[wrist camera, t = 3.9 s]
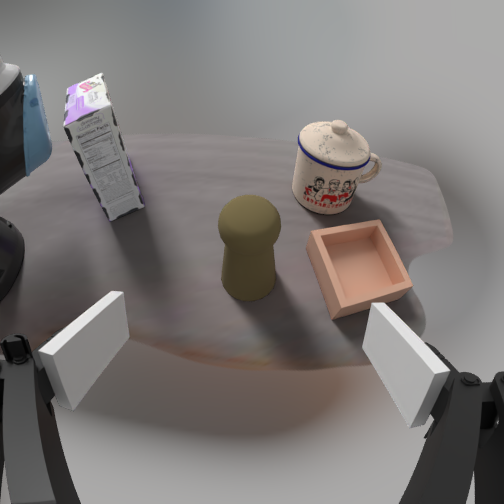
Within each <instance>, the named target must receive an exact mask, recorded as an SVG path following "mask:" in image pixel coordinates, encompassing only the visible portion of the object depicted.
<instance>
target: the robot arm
mask: <svg viewBox="0 0 504 504" xmlns="http://www.w3.org/2000/svg"><path fill="white" fill-rule="evenodd" d="M51 152H52V142H51V137H50V132H49V128H48V123H47V119H46V115H45V110H44V106H43V101H42V97H41V93H40V89H39V84H38V82H37V77H36V75H34V74H32V75H27V76H25V78H23V77H22V74H21V72H20V69H19V67H18V66H17V65H12V64H5V63H4V62H3V61H2V58H1V55H0V195H1V194H2V193H3V192H5V191H6V190H7V189H9V188H10V187H11V186H12V185H14V184H15V183H17V182H18V181H19V180H21V179H22V178H23V177H25V176H27V177H28V176H29V175H30V173H31V172H32V171H33V170H35V169H36V168H38V167H39V166H40V165H42V164H43V163H45V162H46V161H47V160H48V158H49V157H50V155H51ZM23 254H24V240H23V237H22V234H21V233H20V232H19V230H18V229H17V228H16V227H15V226H14V225H13V224H12V223H11V222H9V221H7V220H6V219H4V218H2V217H0V300H1V299H2V298H3V297H4V296H5V295H6V293H7V292H8V291H9V289H10V288H11V286H12V284H13V282H14V281H15V279H16V276H17V274H18V272H19V269H20V266H21V263H22V259H23ZM129 337H130V335H129V329H128V322H127V315H126V308H125V299H124V292H118V291H111V292H110V293H108V294H107V295H106V296H104V297H103V298H102V299H101V300H99V301H98V302H97V303H95V304H94V305H93V306H92V307H90V308H89V309H88V310H87V311H85V312H84V313H83V314H82V315H80V316H79V317H78V318H77V319H75V320H74V321H73V322H72V323H71V324H69V325H68V326H67V327H65V328H62V329H60V330H58V331H57V332H55V333H54V334H53V335H52V336H51V337H49V338H48V339H47V340H46V341H44V342H43V343H42V344H41V345H40V346H38V347H37V348H36V349H35V350H34V351H33V352H31V348H30V345H29V342H28V339H27V336H26V335H24V334H20V333H17V334H11V335H8V336H6V337H5V338H3V339H2V340H1V342H0V345H1V348H2V351H3V353H4V356H5V359H6V360H0V497H1V484H2V475H3V468H4V461H5V468H6V476H7V482H8V489H9V494H10V500H11V504H81V503H80V500H79V498H78V495H77V492H76V490H75V487H74V484H73V481H72V479H71V475H70V473H69V469H68V466H67V463H66V459H65V456H64V452H63V449H62V445H61V441H60V437H59V433H58V428H57V424H56V419H55V414H54V409H53V405H52V403H51V399H52V398H53V397H54V396H55V397H56V399H57V402H58V404H59V406H61V407H64V408H66V409H69V410H72V411H74V410H75V408H76V407H77V406H78V404H79V403H80V401H81V400H82V399H83V397H84V396H85V395H86V393H87V392H88V391H89V389H90V388H91V387H92V385H93V384H94V383H95V381H96V380H97V379H98V377H99V376H100V375H101V373H102V372H103V371H104V369H105V368H106V367H107V366H108V364H109V363H110V362H111V360H112V359H113V358H114V356H115V355H116V354H117V353H118V351H119V350H120V349H121V347H122V346H123V345H124V343H125V342H126V341H127V340H128V339H129ZM362 348H363V350H364V351H365V353H366V355H367V356H368V358H369V360H370V361H371V363H372V365H373V366H374V368H375V370H376V371H377V373H378V374H379V376H380V378H381V380H382V381H383V383H384V385H385V386H386V388H387V390H388V392H389V393H390V395H391V397H392V399H393V400H394V402H395V404H396V405H397V407H398V409H399V411H400V412H401V414H402V416H403V418H404V419H405V421H406V423H407V425H408V427H409V428H413V427H417V426H421V425H424V424H425V423H426V421H427V419H428V417H429V415H430V414H431V415H432V417H433V418H434V421H433V423H432V425H431V426H430V428H429V430H428V432H427V433H426V435H425V437H424V438H427V439H426V442H425V444H424V447H423V450H422V453H421V455H420V458H419V461H418V463H417V465H416V468H415V470H414V473H413V475H412V477H411V480H410V482H409V484H408V486H407V488H406V490H405V492H404V495H403V496H402V498H401V501H400V502H399V504H466V500H467V497H468V493H469V489H470V485H471V480H472V476H473V471H474V479H475V504H504V372H498V373H497V374H496V375H495V377H494V379H493V381H492V382H488V383H487V382H486V383H482V382H481V380H480V378H479V377H477V376H476V375H474V374H472V373H468V372H461V373H459V372H458V371H457V370H456V369H455V368H454V367H453V366H452V364H451V363H450V362H448V360H447V359H445V357H444V356H443V355H442V354H440V352H439V351H438V350H437V349H436V348H435V347H433V346H432V345H430V344H428V343H424V342H423V341H422V340H421V339H420V338H419V337H418V336H417V335H416V334H415V333H414V332H413V331H412V330H411V329H410V328H409V327H408V326H407V325H406V324H405V323H404V322H403V321H402V320H401V319H400V318H399V317H398V316H397V315H396V314H395V313H394V312H393V311H392V310H391V309H390V308H389V307H388V306H387V305H386V304H385V303H371V308H370V313H369V318H368V323H367V328H366V332H365V337H364V341H363V346H362ZM498 420H499V422H498V424H497V421H498Z"/></svg>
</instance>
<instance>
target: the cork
mask: <svg viewBox="0 0 504 504" xmlns="http://www.w3.org/2000/svg"><path fill="white" fill-rule="evenodd" d="M218 229H219V233H220V236H221V239H222V240H223V242H224V243H225V249H224V258H223V266H222V277H221V280H222V283H223V287H224V288H225V290H226V291H227V292H228V294H230V295H231V296H233V297H234V298H236V299H239V300H242V301H255V300H259V299H262V298H263V297H265V296H266V295H268V294H269V293H270V291H271V290H272V289H273V287H274V284H275V281H276V273H275V260H274V249H273V244H274V243H275V242H276V241H277V239H278V236H279V233H280V230H281V220H280V215H279V213H278V211H277V209H276V208H275V207H274V206H273V205H272V204H271V203H270V202H269V201H268V200H266V199H265V198H263V197H260V196H256V195H243V196H239V197H236V198H234V199H232V200H231V201H230V202H229V203H228V204H227V205H225V206H224V207H223V209H222V211H221V213H220V216H219V221H218Z"/></svg>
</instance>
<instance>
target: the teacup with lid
mask: <svg viewBox="0 0 504 504" xmlns="http://www.w3.org/2000/svg"><path fill="white" fill-rule="evenodd" d="M298 144H299V147H298V154H297V160H296V166H295V172H294V178H293V184H292V190H293V193H294V196H295V198H296V199H297V200H298V201H299V203H300V204H302V205H303V206H304V207H306V208H307V209H309V210H311V211H313V212H316V213H320V214H336V213H340V212H342V211H344V210H345V209H346V208H347V207H348V206H349V205H350V203H351V201H352V198H353V196H354V193H355V191H356V188H357V186H358V183H365V182H368V181H370V180H372V179H373V178H375V177H376V176H377V175H378V173H379V172H380V170H381V167H382V163H381V161H380V159H379V157H378V156H377V155H375V154H372V153H370V148H369V145H368V143H367V142H366V140H365V139H364V138H363V137H362V136H361V135H360V134H359V133H357V132H356V131H354V130H353V129H351V128H349V127H348V125H347V124H346V123H345V122H343V121H341V120H334V121H333V122H315V123H312V124H309V125H307V126H306V127H304V128H303V129H302V131H301V132H300V134H299V136H298ZM369 161H374V162H375V165H374V167H373V168H372V169H371V170H370V171H369V172H368V173H366V174H364V175H362V173H363V170H364V168H365V165H366V164H367V163H368V162H369Z"/></svg>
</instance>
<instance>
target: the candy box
mask: <svg viewBox="0 0 504 504" xmlns="http://www.w3.org/2000/svg"><path fill="white" fill-rule="evenodd" d="M64 129H65V132H66V134H67V136H68V139H69V141H70V143H71V145H72V148H73V150H74V152H75V154H76V156H77V159H78V161H79V163H80V165H81V167H82V169H83V172H84V174H85V176H86V178H87V180H88V182H89V184H90V186H91V188H92V189H93V192H94V194H95V196H96V198H97V199H98V201H99V203H100V205H101V207H102V209H103V211H104V212H105V214H106V216H107V218H108V220H109V221H113V220H115V219H117V218H120V217H122V216H124V215H126V214H129V213H131V212H134V211H136V210H139V209H141V208H143V207H144V205H145V204H144V201H143V198H142V195H141V192H140V189H139V186H138V183H137V180H136V177H135V174H134V171H133V168H132V165H131V162H130V159H129V155H128V152H127V149H126V146H125V143H124V140H123V137H122V134H121V131H120V127H119V124H118V121H117V118H116V115H115V111H114V108H113V105H112V101H111V98H110V95H109V91H108V88H107V85H106V82H105V79H104V76H103V73H100V74H98V75H96V76H93V77H90V78H89V79H86V80H84V81H82V82H80V83H77V84H75V85H73V86H71V87H69V88H68V89H67V96H66V106H65V114H64Z"/></svg>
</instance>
